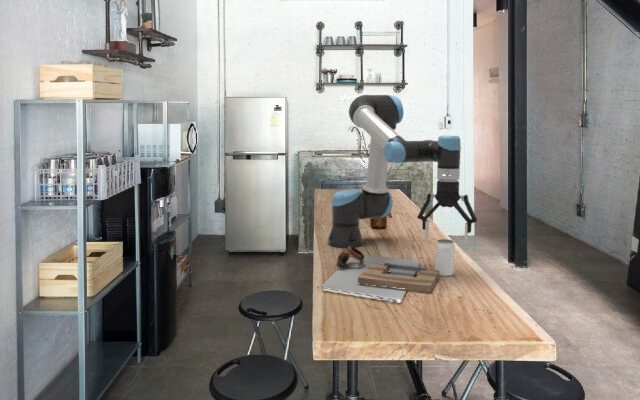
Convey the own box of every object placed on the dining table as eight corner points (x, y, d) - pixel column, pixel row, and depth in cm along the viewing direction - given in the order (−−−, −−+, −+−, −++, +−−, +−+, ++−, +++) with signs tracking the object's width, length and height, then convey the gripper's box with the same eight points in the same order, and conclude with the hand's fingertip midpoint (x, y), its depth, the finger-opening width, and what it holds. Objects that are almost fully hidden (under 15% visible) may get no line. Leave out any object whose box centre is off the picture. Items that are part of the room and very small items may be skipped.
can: (441, 270, 193) (442, 238, 191) (457, 273, 189) (458, 241, 187) (431, 273, 189) (432, 241, 187) (447, 277, 184) (448, 244, 182)
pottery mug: (341, 262, 205) (352, 244, 204) (359, 276, 201) (371, 258, 199) (326, 261, 195) (338, 243, 193) (345, 276, 190) (357, 258, 189)
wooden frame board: (372, 270, 193) (372, 263, 193) (439, 277, 184) (439, 270, 184) (357, 284, 176) (358, 277, 176) (430, 293, 168) (430, 285, 167)
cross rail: (385, 271, 192) (385, 262, 191) (426, 275, 186) (426, 267, 186) (383, 272, 190) (384, 264, 189) (425, 277, 185) (425, 268, 184)
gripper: (410, 180, 184) (408, 239, 187) (484, 182, 175) (482, 245, 178) (414, 178, 191) (413, 235, 194) (486, 180, 182) (483, 240, 185)
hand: (446, 240), depth 186 cm, fingers open, 13 cm apart
